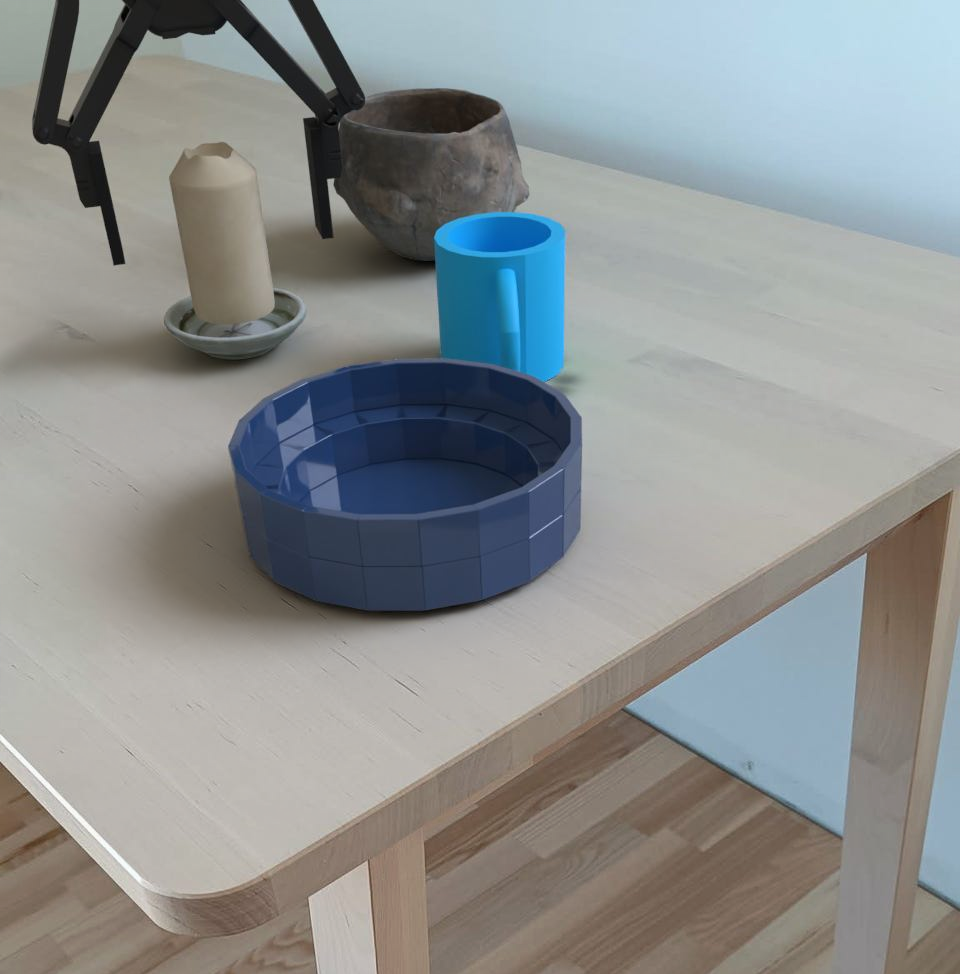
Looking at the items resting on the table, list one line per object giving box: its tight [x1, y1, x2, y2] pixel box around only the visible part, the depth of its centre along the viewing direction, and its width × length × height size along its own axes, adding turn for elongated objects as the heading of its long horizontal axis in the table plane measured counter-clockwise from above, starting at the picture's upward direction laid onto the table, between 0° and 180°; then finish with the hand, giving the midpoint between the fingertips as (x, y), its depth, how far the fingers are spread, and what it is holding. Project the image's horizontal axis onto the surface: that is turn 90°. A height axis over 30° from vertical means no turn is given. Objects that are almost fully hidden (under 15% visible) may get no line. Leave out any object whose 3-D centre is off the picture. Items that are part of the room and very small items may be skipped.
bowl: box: [332, 87, 530, 262], centre depth 97 cm, size 14×15×10 cm
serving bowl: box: [227, 357, 583, 612], centre depth 68 cm, size 18×18×6 cm
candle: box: [168, 141, 275, 324], centre depth 83 cm, size 6×6×10 cm
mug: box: [434, 211, 566, 383], centre depth 80 cm, size 12×8×8 cm
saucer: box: [163, 287, 307, 361], centre depth 87 cm, size 10×10×2 cm
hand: (222, 245), depth 84 cm, fingers open, 13 cm apart
